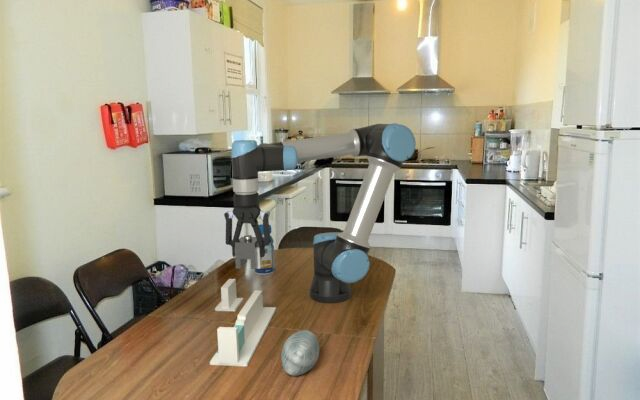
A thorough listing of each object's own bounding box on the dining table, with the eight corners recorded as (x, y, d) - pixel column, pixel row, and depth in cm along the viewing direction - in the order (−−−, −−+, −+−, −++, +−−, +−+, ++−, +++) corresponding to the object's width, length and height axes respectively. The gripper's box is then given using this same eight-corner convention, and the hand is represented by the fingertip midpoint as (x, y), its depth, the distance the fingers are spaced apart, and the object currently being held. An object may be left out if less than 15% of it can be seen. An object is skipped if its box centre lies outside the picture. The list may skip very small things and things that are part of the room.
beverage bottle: (278, 271, 199) (277, 224, 196) (266, 276, 192) (264, 229, 189) (263, 267, 204) (261, 222, 200) (250, 273, 197) (248, 226, 193)
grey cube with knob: (261, 262, 147) (260, 233, 146) (255, 269, 140) (254, 239, 139) (242, 261, 148) (241, 233, 146) (236, 268, 141) (234, 238, 139)
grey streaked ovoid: (288, 338, 131) (300, 314, 126) (318, 355, 130) (331, 332, 125) (267, 373, 119) (279, 348, 114) (300, 393, 118) (314, 368, 113)
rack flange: (276, 309, 159) (275, 281, 157) (247, 366, 122) (245, 330, 121) (247, 308, 160) (246, 280, 158) (210, 364, 124) (207, 329, 122)
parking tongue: (243, 300, 168) (242, 278, 166) (235, 311, 158) (234, 288, 156) (224, 299, 168) (223, 278, 167) (215, 310, 159) (213, 288, 157)
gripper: (280, 190, 143) (282, 264, 147) (219, 190, 145) (223, 262, 149) (274, 194, 135) (276, 271, 139) (210, 194, 138) (215, 270, 142)
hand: (249, 266), depth 144 cm, fingers closed on grey cube with knob, 6 cm apart
